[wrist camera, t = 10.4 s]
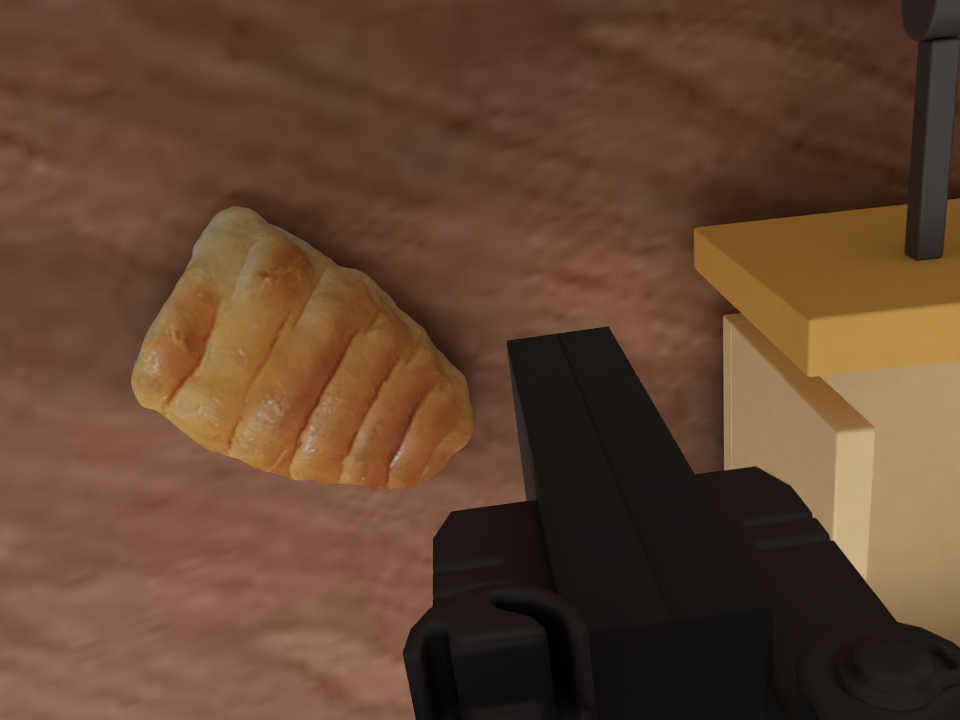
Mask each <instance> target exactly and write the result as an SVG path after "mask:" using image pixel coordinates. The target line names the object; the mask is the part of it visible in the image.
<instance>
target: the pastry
mask: <svg viewBox="0 0 960 720" xmlns="http://www.w3.org/2000/svg"><path fill="white" fill-rule="evenodd" d="M131 383H132V388H133V391H134V393H135V397H136V398H137V400H138V401H139V402H140V404H141V406H142V407H145V408H147V409H153V410H156V411H157V412H159V413H161V414H162V415H164V416H165V417H166V418H167V419H169V420H170V421H171V422H172V423H173V424H175V425H176V426H177V427H178V428H179V429H180V430H181V431H182V432H184V433H186V434H187V435H188V436H189V437H191V438H192V439H193V440H194V441H195V442H197V443H198V444H200V445H201V446H203V447H204V448H206V449H207V450H210V451H213V452H217V453H220V454H224V455H227V456H230V457H234V458H238V459H240V460H242V461H244V462H246V463H247V464H249V465H250V466H253V467H256V468H258V469H259V470H261V471H264V472H273V473H277V474H281V475H284V476H287V477H289V478H291V479H294V480H314V481H317V482H320V483H324V484H329V485H335V484H339V483H344V484H349V485H359V486H365V487H369V488H384V489H409V488H411V487H413V486H415V485H417V484H420V483H422V482H424V481H426V480H428V479H431V478H432V477H433V476H434V475H436V474H437V473H438V472H439V471H440V470H442V469H443V468H444V467H445V466H446V464H447V463H448V462H449V461H450V460H451V459H452V458H453V457H454V455H455V454H456V453H457V451H458V450H460V449H461V448H463V447H464V446H465V445H466V444H467V443H468V442H469V440H470V438H471V437H472V435H473V432H474V417H473V412H472V407H471V403H470V398H469V390H468V385H467V380H466V379H465V377H464V376H463V374H462V373H461V372H460V371H459V370H458V369H457V368H455V367H454V366H453V365H452V364H451V363H450V362H449V361H448V360H447V358H446V357H445V355H444V354H443V353H442V352H441V351H439V350H437V349H436V347H435V346H434V344H433V343H432V341H431V340H430V338H429V336H428V334H427V333H426V331H425V329H424V328H423V327H422V326H421V325H419V324H417V323H416V322H415V321H414V320H413V319H412V318H410V317H409V316H408V315H407V314H406V313H404V312H403V311H402V310H401V309H399V308H398V307H397V305H396V304H395V303H394V301H393V300H392V298H391V297H390V295H389V294H388V293H387V292H385V291H383V290H381V289H380V287H379V286H378V285H377V283H376V282H375V281H374V280H373V279H371V278H370V277H369V276H368V275H366V274H364V273H363V272H361V271H359V270H357V269H351V268H346V267H342V266H339V265H338V264H336V263H335V262H334V261H333V260H332V259H331V258H329V257H326V256H324V255H323V254H322V253H321V252H320V251H318V250H316V249H315V248H313V247H312V246H311V245H309V244H308V243H307V242H306V241H304V240H301V239H299V238H298V237H296V236H294V235H292V234H290V233H289V232H287V231H286V230H284V229H282V228H280V227H277V226H274V225H271V224H269V223H268V222H267V221H266V220H265V219H263V218H262V217H261V216H260V215H259V214H258V213H256V212H255V211H253V210H251V209H249V208H246V207H237V206H233V207H230V208H227V209H225V210H222V211H220V212H218V213H217V214H216V215H215V216H214V218H213V219H212V220H211V221H210V223H209V225H208V226H207V227H206V228H205V230H204V231H203V233H202V235H201V236H200V238H199V239H198V241H197V242H196V243H195V245H194V248H193V251H192V257H191V260H190V262H189V263H188V265H187V268H186V270H185V272H184V274H183V275H182V277H181V278H180V279H179V281H178V282H177V284H176V285H175V288H174V290H173V292H172V294H171V295H170V297H169V299H168V300H167V301H166V302H165V304H164V305H163V307H162V308H161V310H160V312H159V314H158V316H157V317H156V318H155V320H154V321H153V323H152V324H151V326H150V328H149V330H148V332H147V334H146V336H145V339H144V341H143V343H142V348H141V351H140V353H139V356H138V359H137V361H136V362H135V365H134V369H133V374H132V378H131Z"/></svg>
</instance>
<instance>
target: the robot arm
mask: <svg viewBox="0 0 960 720" xmlns="http://www.w3.org/2000/svg"><path fill="white" fill-rule="evenodd" d="M507 349H508V357H509V365H510V373H511V381H512V389H513V397H514V405H515V413H516V420H517V428H518V436H519V444H520V452H521V460H522V468H523V476H524V484H525V492H526V499H527V501H524V502H517V503H510V504H502V505H495V506H488V507H481V508H474V509H466V510H459V511H452V512H451V513H450V514H449V516H448V517H447V519H446V520H445V522H444V523H443V525H442V526H441V528H440V529H439V531H438V532H437V534H436V535H435V537H434V538H433V572H434V574H433V598H434V600H433V607H432V608H430V609H429V610H428V611H427V612H426V613H425V614H424V615H423V616H422V618H421V619H420V620H419V621H418V622H417V623H416V624H415V625H414V626H413V627H412V628H411V630H410V633H409V636H408V639H407V642H406V645H405V648H404V651H403V657H404V662H405V667H406V672H407V677H408V682H409V687H410V692H411V697H412V702H413V707H414V712H415V717H416V720H960V647H959V646H957V645H956V644H955V643H954V642H952V641H949V640H947V639H945V638H943V637H941V636H939V635H937V634H934V633H932V632H930V631H928V630H926V629H924V628H922V627H918V626H913V625H909V624H904V623H900V622H897V621H896V619H895V618H894V617H893V616H892V614H891V613H890V612H889V610H888V609H887V608H886V607H885V605H884V604H883V603H882V602H881V600H880V599H879V598H878V596H877V595H876V594H875V593H874V591H873V590H872V589H871V587H870V586H869V585H868V584H867V582H866V581H865V580H864V578H863V577H862V576H861V575H860V573H859V572H858V571H857V569H856V568H855V567H854V566H853V564H852V563H851V562H850V561H849V559H848V558H847V557H846V555H845V554H844V553H843V552H842V550H841V549H840V548H839V546H838V545H837V544H836V543H835V541H834V540H833V541H831V540H830V537H829V534H828V532H827V531H826V530H825V528H824V527H823V526H822V525H821V523H820V522H819V521H818V520H817V518H813V516H812V512H811V511H810V509H809V508H808V507H807V505H806V504H805V503H804V502H803V500H802V499H801V498H800V496H799V495H798V494H797V493H796V491H795V490H794V489H793V488H792V486H791V485H789V484H787V483H785V482H783V481H782V480H780V479H778V478H776V477H774V476H773V475H771V474H769V473H767V472H765V471H764V470H762V469H760V468H758V467H757V466H753V467H746V468H739V469H732V470H724V471H717V472H710V473H703V474H696V475H695V474H694V472H693V471H692V469H691V467H690V466H689V464H688V462H687V460H686V459H685V457H684V455H683V454H682V452H681V450H680V448H679V447H678V445H677V443H676V442H675V440H674V438H673V436H672V435H671V433H670V431H669V430H668V428H667V426H666V424H665V423H664V421H663V419H662V418H661V416H660V414H659V412H658V411H657V409H656V407H655V406H654V404H653V402H652V400H651V399H650V397H649V395H648V394H647V392H646V390H645V388H644V387H643V385H642V383H641V382H640V380H639V378H638V376H637V375H636V373H635V371H634V370H633V368H632V366H631V364H630V363H629V361H628V359H627V358H626V356H625V354H624V352H623V351H622V349H621V347H620V346H619V344H618V342H617V340H616V339H615V337H614V335H613V334H612V332H611V330H610V328H609V327H602V328H595V329H588V330H580V331H573V332H566V333H559V334H552V335H544V336H537V337H530V338H523V339H516V340H508V341H507Z"/></svg>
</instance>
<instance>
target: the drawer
mask: <svg viewBox="0 0 960 720" xmlns="http://www.w3.org/2000/svg"><path fill="white" fill-rule="evenodd" d="M901 12H902V22H903V26H904V29H905V31H906V33H907V35H908V36H909V37H910V38H911V39H913V40H916V41H919V45H918V60H917V75H916V89H915V104H914V119H913V133H912V148H911V163H910V177H909V192H908V204H904V205H895V206H886V207H877V208H868V209H859V210H849V211H840V212H831V213H822V214H813V215H804V216H795V217H786V218H777V219H768V220H759V221H750V222H740V223H731V224H722V225H713V226H704V227H696V228H694V265H695V269H696V270H697V271H698V272H699V273H700V274H701V275H702V276H703V277H704V278H705V279H706V280H707V281H708V282H709V283H710V284H711V285H712V286H713V287H715V288H716V289H717V290H718V291H719V292H720V293H721V294H722V295H723V296H724V297H725V298H726V299H727V300H728V301H729V302H730V303H731V304H732V305H733V306H734V307H735V308H737V309H738V310H739V311H740V312H741V313H735V314H726V315H724V316H723V373H724V470H732V469H739V468H746V467H753V466H757V467H758V468H760V469H762V470H764V471H765V472H767V473H769V474H771V475H773V476H774V477H776V478H778V479H780V480H782V481H783V482H785V483H787V484H789V485H791V486H792V488H793V489H794V490H795V491H796V493H797V494H798V495H799V496H800V498H801V499H802V500H803V502H804V503H805V504H806V505H807V507H808V508H809V509H810V511H811V512H812V516H813V518H817V520H818V521H819V522H820V523H821V525H822V526H823V527H824V528H825V530H826V531H827V532H828V534H829V537H830V540H831V541H833V540H834V541H835V543H836V544H837V545H838V546H839V548H840V549H841V550H842V552H843V553H844V554H845V555H846V557H847V558H848V559H849V561H850V562H851V563H852V564H853V566H854V567H855V568H856V569H857V571H858V572H859V573H860V575H861V576H862V577H863V578H864V580H865V581H866V582H867V584H868V585H869V586H870V587H871V589H872V590H873V591H874V593H875V594H876V595H877V596H878V598H879V599H880V600H881V602H882V603H883V604H884V605H885V607H886V608H887V609H888V610H889V612H890V613H891V614H892V616H893V617H894V618H895V619H896V621H897V622H900V623H904V624H909V625H913V626H918V627H922V628H924V629H926V630H928V631H930V632H932V633H934V634H937V635H939V636H941V637H943V638H945V639H947V640H949V641H952V642H954V643H955V644H956V645H957V646H959V647H960V198H958V199H949V200H948V188H949V176H950V164H951V153H952V141H953V129H954V117H955V105H956V93H957V81H958V69H959V58H960V38H958V37H957V36H960V0H902V7H901Z"/></svg>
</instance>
